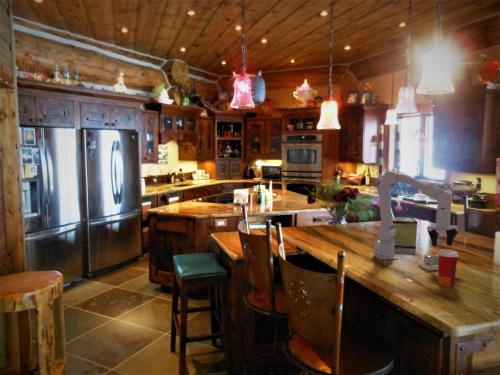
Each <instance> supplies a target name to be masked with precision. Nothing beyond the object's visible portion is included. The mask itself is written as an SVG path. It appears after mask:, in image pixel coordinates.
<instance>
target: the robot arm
mask: <svg viewBox="0 0 500 375" xmlns="http://www.w3.org/2000/svg"><path fill="white" fill-rule="evenodd" d="M404 183H405V184H407V185H409V186H412V187H414V188H416V189H418V190H420V191H421V194H423V195H424V196H427V197H429V198H431V199H432V200H435V201H436V202H437V207H436V219H435V220H436V222H435V223H436V224H435V225H431V226H430V225H429V226H427V227H426V231H427V234H428V236H429V238H430V241H431V245H432V246H433V247H437V244H438V237H439V234H440V233H439V232H438V231H445V232H446V245H447V246H449V247H452V244H453V243H454V242H453V241H454V239H455V238H456V237H457V235H458V233H459V232H458V231H459V225H451V214H452V200H453V199H454V196H453V194H452V192H451V191H449V190H444V188H443V187H442V188H440V187H438V186H437V185H435V183H433V182H426V183H423V182H422V181H419V179H417V178H414V177H413V176H410V175H408V174H406V173H404V172H402V171H401V172H400V171H399V170H392V171H386V172H385V173H384V174H383V175H382V176H381V179H380V182H379V184H378V186H377V191H378V192H377V193H378V194H377V195H378V201H379V202H378V203H379V204H378V205H379V212H380V214H379V215H380V225H379V231H378V237H379V239H378V240H375V241H374V245H373V246H374V247H373V254H372V255H373V257H375V258H377V259H378V260H398V259H399V258H398V257H396V256H395V239H394V237H395V236H396V234H397V231H396V229H395V227H394V223H393V221H392V206H391V205H392V204H391V195H390V189H392V188H393V187H394V186H395V185H398V184H404Z"/></svg>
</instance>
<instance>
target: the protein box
mask: <svg viewBox="0 0 500 375" xmlns="http://www.w3.org/2000/svg"><path fill="white" fill-rule="evenodd" d="M392 221H393V223H394V227H395V229H396V231H397V234H396V236H395V237H394V239H395V248H396V249H409V250H410V249H411V250H416V248H417V235H418V234H417V232H418V221H417V220H416V219H415V218H413V217H394V216H393V217H392Z"/></svg>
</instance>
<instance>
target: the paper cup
mask: <svg viewBox="0 0 500 375" xmlns="http://www.w3.org/2000/svg"><path fill="white" fill-rule="evenodd" d="M458 253H459V252H458V251H457V250H453V249H449V248H448V249H447V248H440V249H439V250H438V252H437V254H438V270H437V272H438V275H437V276H438V284H439V285H440V286H442V287H446V288H452V287H454V285H455V279H456V278H455V277H456V272H457V264H458V263H457V262H458V258H459V257H460V256H459V255H460V254H458Z"/></svg>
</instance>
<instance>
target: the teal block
mask: <svg viewBox="0 0 500 375" xmlns="http://www.w3.org/2000/svg"><path fill="white" fill-rule="evenodd" d="M433 256H434V265H438V253H437V254H433Z"/></svg>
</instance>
